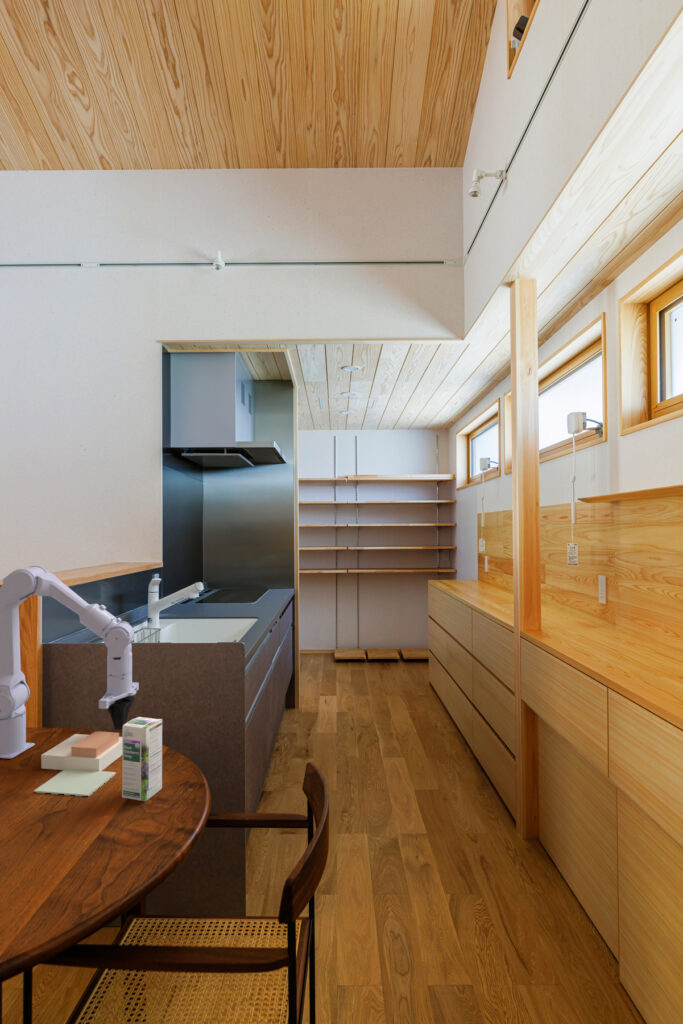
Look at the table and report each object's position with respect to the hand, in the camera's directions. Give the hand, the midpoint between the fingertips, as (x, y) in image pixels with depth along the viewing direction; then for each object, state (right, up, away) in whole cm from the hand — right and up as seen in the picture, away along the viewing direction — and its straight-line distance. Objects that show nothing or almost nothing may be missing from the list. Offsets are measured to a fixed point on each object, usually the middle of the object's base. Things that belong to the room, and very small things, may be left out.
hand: (119, 728), depth 137 cm
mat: (-1, -4, -20) cm, 20 cm away
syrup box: (+14, -4, -24) cm, 29 cm away
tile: (-2, -1, -10) cm, 10 cm away
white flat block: (-4, -4, -8) cm, 10 cm away
